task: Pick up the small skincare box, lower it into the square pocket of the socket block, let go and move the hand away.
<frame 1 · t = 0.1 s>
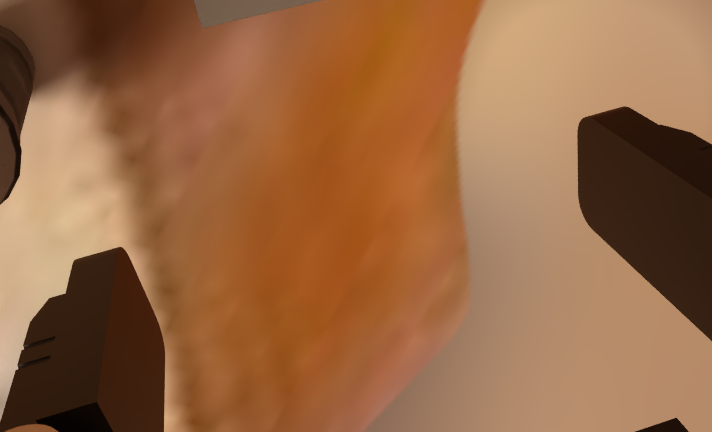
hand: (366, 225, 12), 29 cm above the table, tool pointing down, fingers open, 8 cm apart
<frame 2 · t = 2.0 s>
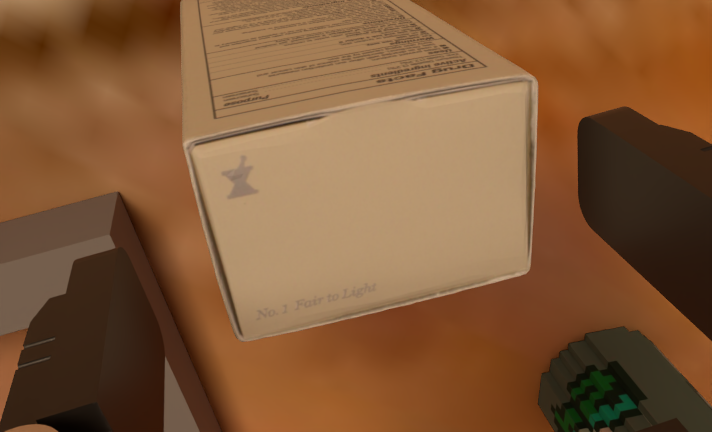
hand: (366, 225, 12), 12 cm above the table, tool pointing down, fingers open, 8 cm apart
can: (594, 374, 34), on the table
socket block: (27, 374, 26), on the table
skincare box: (287, 43, 22), on the table
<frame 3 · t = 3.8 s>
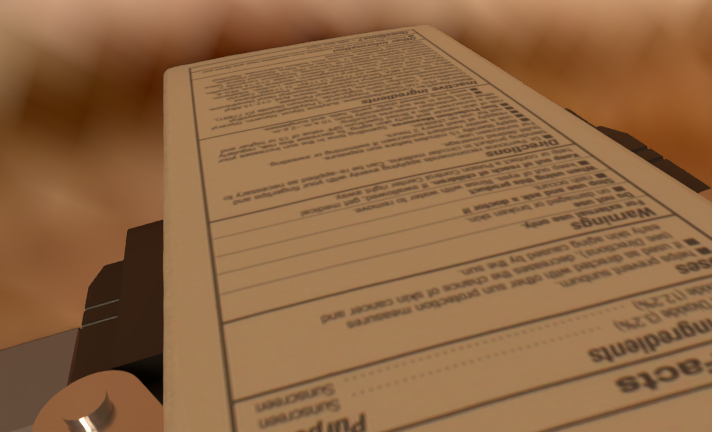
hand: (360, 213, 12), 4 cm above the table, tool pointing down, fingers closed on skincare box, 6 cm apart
skincare box: (317, 123, 16), on the table, touching gripper
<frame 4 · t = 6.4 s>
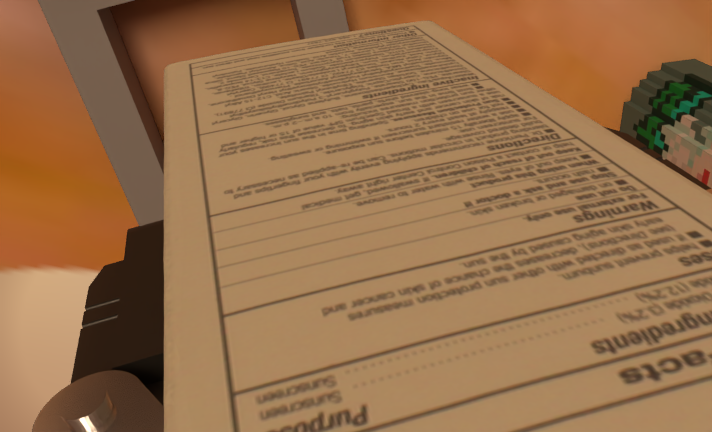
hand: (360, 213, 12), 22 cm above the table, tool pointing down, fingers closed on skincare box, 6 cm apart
can: (666, 110, 40), on the table
socket block: (219, 57, 32), on the table
skincare box: (318, 120, 16), point 18 cm above the table, touching gripper
when the fingers open (6 cm above the table, at t = 9.4 s): skincare box drops 1 cm, resting in socket block.
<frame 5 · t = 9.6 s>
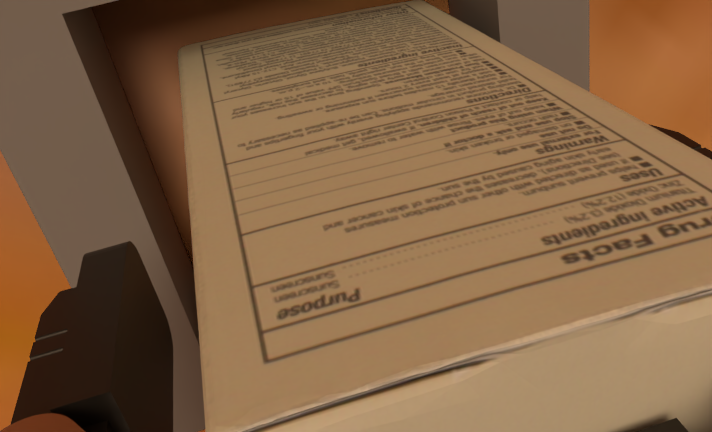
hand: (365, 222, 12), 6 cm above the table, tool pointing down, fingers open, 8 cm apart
socket block: (305, 107, 17), on the table
skincare box: (320, 96, 17), resting in socket block
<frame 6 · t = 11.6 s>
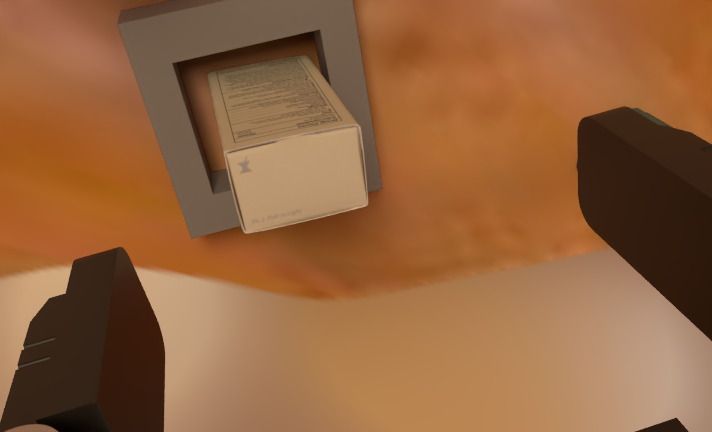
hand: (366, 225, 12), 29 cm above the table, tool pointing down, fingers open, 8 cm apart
socket block: (258, 97, 40), on the table
skincare box: (265, 93, 40), resting in socket block
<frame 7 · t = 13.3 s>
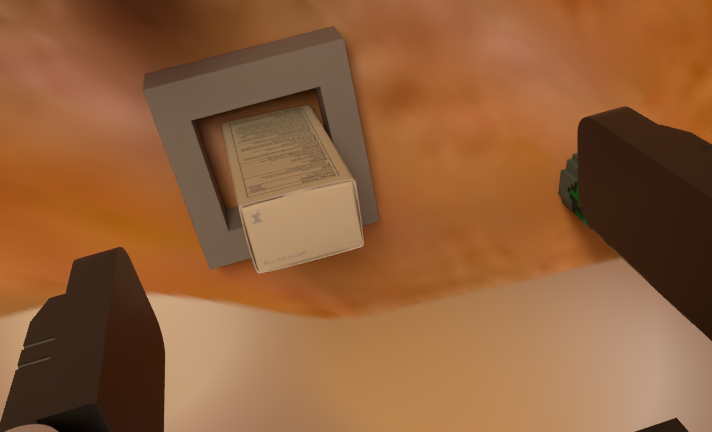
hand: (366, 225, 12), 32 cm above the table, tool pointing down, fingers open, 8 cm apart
can: (594, 175, 53), on the table
socket block: (267, 143, 45), on the table
skincare box: (273, 139, 45), resting in socket block
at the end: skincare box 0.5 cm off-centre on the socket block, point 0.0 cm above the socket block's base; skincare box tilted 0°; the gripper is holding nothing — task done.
